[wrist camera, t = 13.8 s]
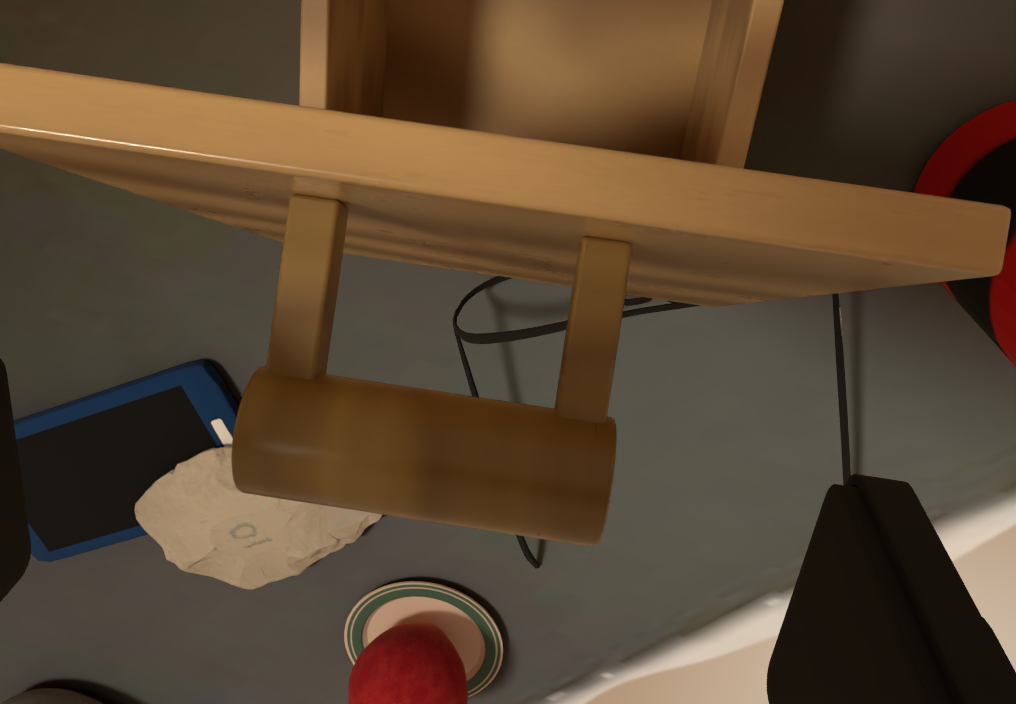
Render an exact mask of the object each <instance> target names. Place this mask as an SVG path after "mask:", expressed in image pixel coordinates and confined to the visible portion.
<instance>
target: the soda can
mask: <svg viewBox="0 0 1016 704" xmlns="http://www.w3.org/2000/svg"><path fill="white" fill-rule="evenodd" d="M914 193H919V194H926V195H933V196H940V197H947V198H954V199H961V200H968V201H975V202H982V203H989V204H997V205H1003V206H1005V207H1007V208H1009V209H1010V210H1011V218H1010V224H1009V230H1008V236H1007V243H1006V249H1005V255H1004V261H1003V267H1002V270H1001V272H1000V273H999V274H998V275H994V276H989V277H980V278H971V279H962V280H953V281H944V282H941V284H942V285H943V286H944V287H945V288H946V289H947V290H948V291H949V293H950V294H951V295H952V296H953V297H954V298H955V299H956V300H957V301H958V303H959V304H960V305H961V306H962V307H963V308H964V309H965V310H966V311H967V313H968V314H969V315H970V316H971V317H972V318H973V319H974V320H975V322H976V323H977V324H978V325H979V326H980V327H981V328H982V329H983V330H984V332H985V333H986V334H987V335H988V336H989V337H990V338H991V339H992V341H993V342H994V343H995V344H996V345H997V346H998V347H999V348H1000V349H1001V351H1002V352H1003V353H1004V354H1005V355H1006V356H1007V357H1008V358H1009V360H1010V361H1011V362H1012V363H1013V364H1014V365H1015V366H1016V101H1012V102H1007V103H1004V104H1001V105H999V106H997V107H994V108H992V109H989V110H987V111H984V112H982V113H981V114H979V115H977V116H976V117H974V118H973V119H971V120H969V121H968V122H966V123H964V124H963V125H962V126H960V127H959V128H958V129H957V130H956V131H955V132H954V133H952V134H951V135H950V136H949V137H948V138H947V139H946V140H945V141H944V142H943V143H942V144H941V145H940V147H939V148H938V149H937V150H936V151H935V153H934V154H933V155H932V156H931V157H930V159H929V161H928V163H927V164H926V166H925V168H924V170H923V171H922V173H921V175H920V177H919V179H918V182H917V185H916V188H915V191H914Z"/></svg>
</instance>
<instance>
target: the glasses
mask: <svg viewBox="0 0 1016 704" xmlns="http://www.w3.org/2000/svg"><path fill="white" fill-rule="evenodd" d="M507 279H511V278H510V277H503V276H496V277H494V278H492V279H490V280H488V281H486V282H484V283H482V284H481V285H479V286H478V287H476V288H474V289H473V290H472V291H471V292H470V293H468V294H467V295H466V297H465V298H464V299H463V300H462V301H461V303H460V305H459V306H458V308H457V309H456V311H455V314H454V317H453V327H454V332H455V336H456V339H457V343H458V347H459V351H460V355H461V359H462V362H463V366H464V369H465V373H466V376H467V380H468V383H469V387H470V390H471V394H472V396H473V397H479V396H478V392H477V389H476V386H475V383H474V380H473V377H472V374H471V370H470V367H469V364H468V361H467V358H466V355H465V352H464V349H463V346H462V343H461V340H460V338H461V339H462V340H464V341H466V342H469V343H475V344H491V343H499V342H507V341H514V340H520V339H525V338H531V337H536V336H541V335H545V334H550V333H555V332H559V331H563V330H566V328H567V321H568V320H566V321H563V322H558V323H553V324H549V325H544V326H539V327H534V328H527V329H521V330H515V331H506V332H496V333H483V334H474V333H466V332H464V331H462V330H461V329H459V327H458V326H457V324H456V323H457V316H458V315H459V313H460V311H461V309H462V307H463V305H464V304H465V303H466V302H467V301H468V300H469V299H470V298H471V297H473V296H474V295H475V294H476V293H478V292H480V291H482V290H483V289H485V288H487V287H489V286H491V285H494V284H496V283H499V282H502V281H504V280H507ZM832 295H833V313H834V331H835V349H836V366H837V382H838V397H839V413H840V430H841V446H842V464H843V484H844V485H845V483H846V481H847V480H848V479H849V477H850V476H851V472H850V451H849V433H848V415H847V399H846V384H845V369H844V355H843V343H842V336H843V331H842V317H840V316H841V308H840V305H839V298H838V293H835V294H832ZM652 299H653V298H646V297H640V298H635V299H625V300H624V305H625V306H630V305H638V304H643V303H646V302H649V301H651V300H652ZM666 301H667V300H666ZM668 302H671V304H664V305H658V306H651V307H645V308H638V309H633V310H628V311H623V314H622V318H624V317H629V316H634V315H639V314H646V313H652V312H659V311H666V310H673V309H680V308H687V307H694V306H701V305H694V304H688V303H681V302H674V301H668ZM516 536H517V539H518V541H519V544H520V546H521V549H522V551H523V553H524V555H525V557H526V559H527V560H528V561H529V562H530V563H531V564H532V565H533V566H534V567H535V568H539V567H540V566H539V564H538V562H537V561H536V559H535V558H534V556H533V555H532V553H531V552H530V550H529V548H528V546H527V544H526V541H525V539H524V536H520V535H516Z"/></svg>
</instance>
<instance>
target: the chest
mask: <svg viewBox="0 0 1016 704" xmlns="http://www.w3.org/2000/svg"><path fill="white" fill-rule="evenodd" d="M783 4H784V0H301V41H300V104H299V105H300V106H307V107H314V108H321V109H328V110H335V111H342V112H349V113H356V114H363V115H370V116H377V117H385V118H392V119H399V120H406V121H413V122H420V123H427V124H434V125H441V126H448V127H455V128H462V129H469V130H476V131H483V132H490V133H497V134H504V135H511V136H518V137H525V138H532V139H539V140H546V141H553V142H560V143H567V144H574V145H581V146H589V147H596V148H603V149H610V150H617V151H624V152H631V153H638V154H645V155H652V156H659V157H666V158H673V159H680V160H687V161H694V162H701V163H708V164H715V165H722V166H729V167H736V168H743V169H744V165H745V161H746V157H747V152H748V148H749V144H750V140H751V136H752V132H753V128H754V124H755V119H756V115H757V111H758V107H759V103H760V99H761V95H762V91H763V86H764V82H765V78H766V74H767V70H768V66H769V62H770V57H771V53H772V49H773V45H774V41H775V37H776V33H777V29H778V24H779V20H780V16H781V12H782V8H783Z"/></svg>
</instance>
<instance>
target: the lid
mask: <svg viewBox="0 0 1016 704" xmlns="http://www.w3.org/2000/svg"><path fill="white" fill-rule="evenodd" d="M0 148H1V149H4V150H7V151H10V152H13V153H16V154H19V155H22V156H25V157H28V158H31V159H34V160H37V161H40V162H43V163H46V164H49V165H52V166H55V167H58V168H61V169H64V170H67V171H70V172H73V173H76V174H79V175H82V176H85V177H88V178H91V179H94V180H97V181H100V182H103V183H106V184H109V185H112V186H115V187H118V188H121V189H124V190H127V191H130V192H133V193H136V194H139V195H142V196H145V197H148V198H151V199H154V200H157V201H160V202H163V203H166V204H169V205H172V206H175V207H178V208H181V209H184V210H187V211H190V212H193V213H196V214H199V215H202V216H205V217H208V218H211V219H214V220H217V221H220V222H223V223H226V224H229V225H232V226H235V227H238V228H241V229H244V230H247V231H250V232H253V233H256V234H259V235H262V236H265V237H268V238H271V239H274V240H277V241H280V242H283V250H282V258H281V265H280V272H279V279H278V286H277V294H276V301H275V308H274V315H273V322H272V330H271V337H270V344H269V351H268V358H267V366H263V367H260V368H259V369H258V370H257V371H256V372H255V373H254V374H253V376H252V377H251V379H250V381H249V383H248V385H247V387H246V389H245V392H244V394H243V397H242V400H241V402H240V406H239V409H238V413H237V417H236V422H235V427H234V433H233V440H232V454H231V462H232V475H233V480H234V483H235V486H236V488H237V489H238V490H240V491H241V492H243V493H247V494H253V495H260V496H266V497H273V498H279V499H286V500H292V501H299V502H305V503H312V504H318V505H325V506H331V507H338V508H344V509H351V510H357V511H364V512H370V513H377V514H383V515H390V516H396V517H403V518H409V519H416V520H422V521H429V522H435V523H442V524H448V525H455V526H461V527H468V528H474V529H481V530H487V531H494V532H500V533H507V534H513V535H520V536H526V537H533V538H539V539H546V540H552V541H559V542H565V543H572V544H578V545H585V546H591V547H594V546H597V545H598V543H599V542H600V540H601V537H602V534H603V531H604V527H605V523H606V518H607V513H608V508H609V502H610V496H611V490H612V483H613V475H614V466H615V455H616V435H617V434H616V424H615V420H614V419H613V418H611V417H607V413H608V406H609V399H610V393H611V386H612V380H613V373H614V366H615V360H616V353H617V347H618V340H619V333H620V327H621V320H622V314H623V307H624V300H625V294H626V295H633V296H640V297H646V298H653V299H660V300H667V301H674V302H681V303H688V304H694V305H701V306H708V307H718V306H727V305H736V304H745V303H754V302H763V301H772V300H781V299H790V298H799V297H808V296H817V295H826V294H835V293H844V292H853V291H862V290H871V289H880V288H889V287H898V286H907V285H916V284H925V283H934V282H944V281H953V280H962V279H971V278H980V277H989V276H994V275H998V274H999V273H1000V272H1001V270H1002V267H1003V261H1004V255H1005V249H1006V243H1007V236H1008V230H1009V224H1010V218H1011V210H1010V209H1009V208H1007V207H1005V206H1003V205H997V204H989V203H982V202H975V201H968V200H961V199H954V198H947V197H940V196H933V195H926V194H919V193H912V192H905V191H898V190H891V189H884V188H877V187H870V186H863V185H856V184H849V183H842V182H835V181H828V180H821V179H814V178H807V177H800V176H793V175H785V174H778V173H771V172H764V171H757V170H750V169H743V168H736V167H729V166H722V165H715V164H708V163H701V162H694V161H687V160H680V159H673V158H666V157H659V156H652V155H645V154H638V153H631V152H624V151H617V150H610V149H603V148H596V147H589V146H581V145H574V144H567V143H560V142H553V141H546V140H539V139H532V138H525V137H518V136H511V135H504V134H497V133H490V132H483V131H476V130H469V129H462V128H455V127H448V126H441V125H434V124H427V123H420V122H413V121H406V120H399V119H392V118H385V117H377V116H370V115H363V114H356V113H349V112H342V111H335V110H328V109H321V108H314V107H307V106H300V105H293V104H286V103H279V102H272V101H265V100H258V99H251V98H244V97H237V96H230V95H223V94H216V93H209V92H202V91H195V90H188V89H181V88H173V87H166V86H159V85H152V84H145V83H138V82H131V81H124V80H117V79H110V78H103V77H96V76H89V75H82V74H75V73H68V72H61V71H54V70H47V69H40V68H33V67H26V66H19V65H12V64H5V63H0ZM343 253H346V254H353V255H359V256H366V257H373V258H380V259H387V260H394V261H400V262H407V263H414V264H421V265H428V266H435V267H441V268H448V269H455V270H462V271H469V272H476V273H482V274H489V275H496V276H503V277H510V278H517V279H523V280H530V281H537V282H544V283H551V284H558V285H564V286H571V287H573V288H572V295H571V301H570V308H569V315H568V321H567V328H566V335H565V342H564V348H563V355H562V362H561V368H560V375H559V382H558V388H557V395H556V402H555V408H554V409H553V408H547V407H540V406H533V405H527V404H520V403H513V402H507V401H500V400H493V399H487V398H480V397H473V396H467V395H460V394H453V393H447V392H440V391H433V390H426V389H420V388H413V387H406V386H400V385H393V384H386V383H380V382H373V381H366V380H360V379H353V378H346V377H340V376H333V375H326V368H327V361H328V354H329V347H330V340H331V333H332V326H333V319H334V312H335V305H336V298H337V290H338V283H339V276H340V269H341V262H342V255H343Z"/></svg>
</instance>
